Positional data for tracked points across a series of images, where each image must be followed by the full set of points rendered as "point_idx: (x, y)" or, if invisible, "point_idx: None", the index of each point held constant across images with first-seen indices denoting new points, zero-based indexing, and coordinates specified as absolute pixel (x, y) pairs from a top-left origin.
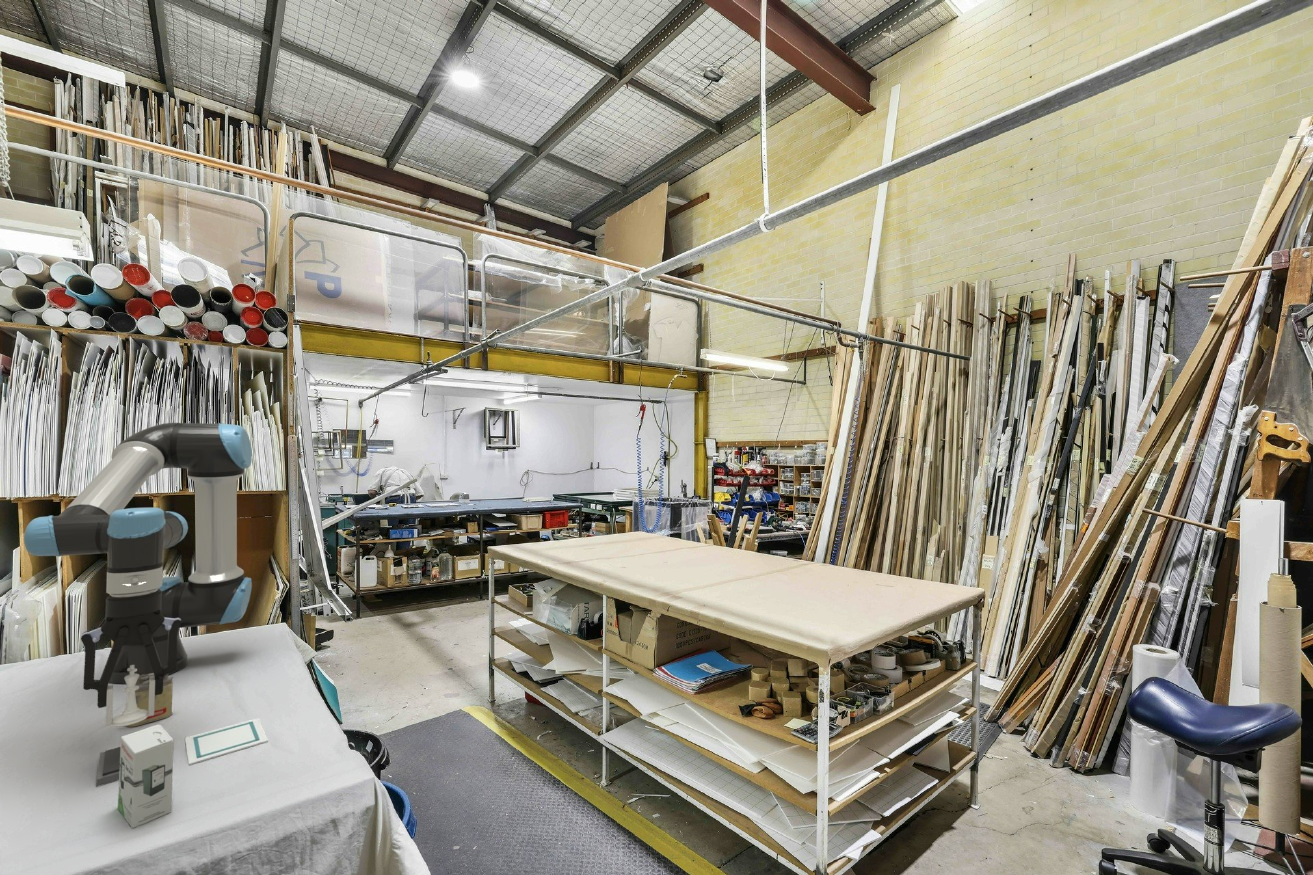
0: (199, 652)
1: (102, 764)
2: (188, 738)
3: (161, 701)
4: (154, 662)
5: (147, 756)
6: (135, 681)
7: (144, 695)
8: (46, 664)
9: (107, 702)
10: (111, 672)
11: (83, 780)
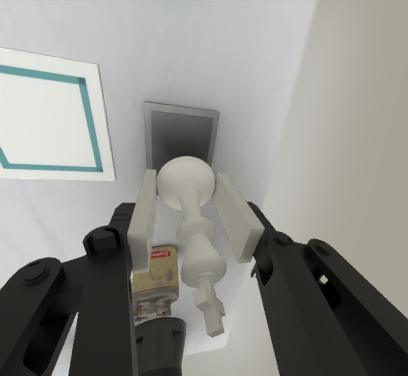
0: None
1: (208, 158)
2: (110, 175)
3: None
4: (105, 340)
5: None
6: (190, 248)
7: (162, 279)
8: (211, 346)
9: (244, 202)
10: (293, 294)
11: (224, 145)
